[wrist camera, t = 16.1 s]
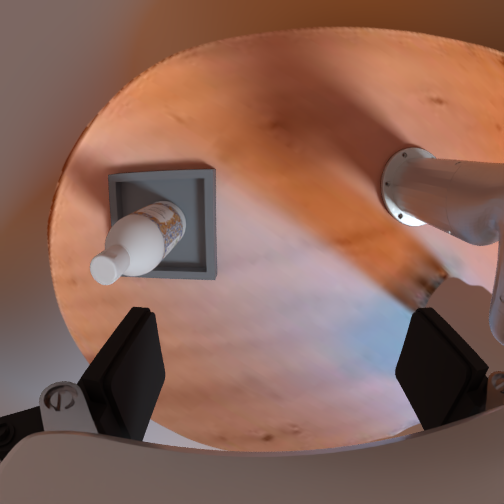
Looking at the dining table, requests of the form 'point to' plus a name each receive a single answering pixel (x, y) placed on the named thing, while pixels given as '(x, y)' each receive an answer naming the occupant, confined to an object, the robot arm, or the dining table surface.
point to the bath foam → (139, 242)
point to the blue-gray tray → (191, 204)
